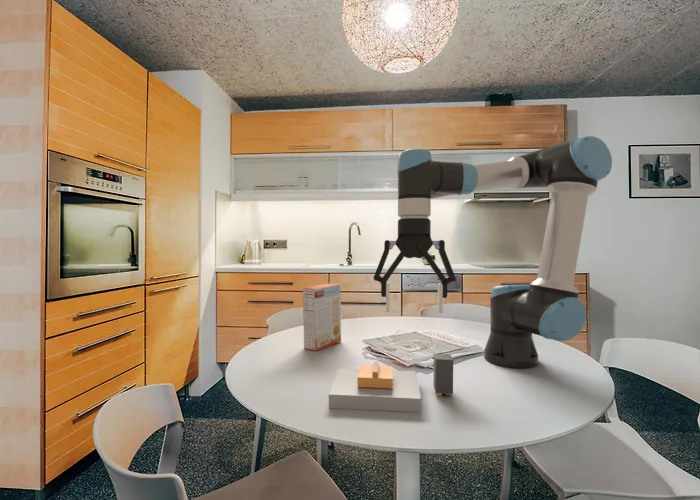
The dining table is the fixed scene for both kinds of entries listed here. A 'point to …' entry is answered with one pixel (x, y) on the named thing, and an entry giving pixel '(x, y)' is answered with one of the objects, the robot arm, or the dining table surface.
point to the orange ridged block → (375, 376)
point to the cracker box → (321, 316)
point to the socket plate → (376, 393)
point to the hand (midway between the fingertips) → (413, 311)
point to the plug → (443, 374)
